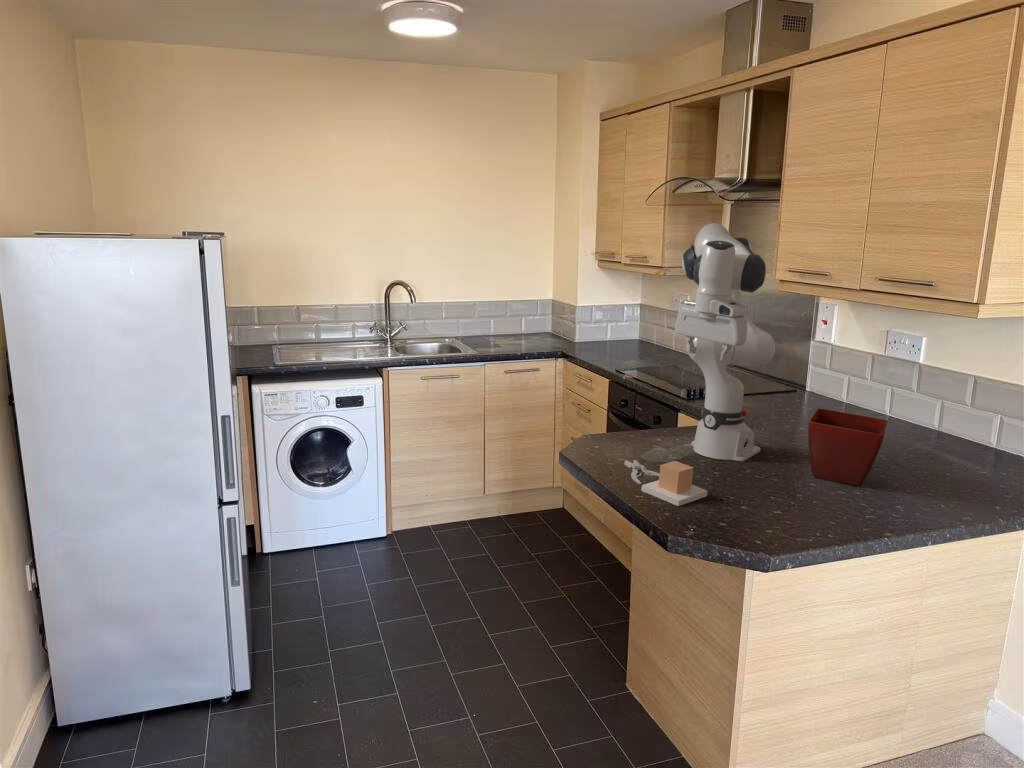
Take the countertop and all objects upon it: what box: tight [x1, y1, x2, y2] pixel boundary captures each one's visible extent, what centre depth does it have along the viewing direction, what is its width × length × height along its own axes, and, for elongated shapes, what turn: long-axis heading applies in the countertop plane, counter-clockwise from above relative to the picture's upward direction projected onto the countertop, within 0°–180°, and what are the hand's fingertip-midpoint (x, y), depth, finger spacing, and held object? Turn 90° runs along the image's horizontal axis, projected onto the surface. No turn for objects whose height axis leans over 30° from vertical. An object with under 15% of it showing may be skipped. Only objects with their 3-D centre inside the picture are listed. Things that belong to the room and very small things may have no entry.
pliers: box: [624, 459, 660, 485], centre depth 198 cm, size 10×2×15 cm
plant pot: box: [807, 408, 889, 487], centre depth 202 cm, size 19×19×17 cm
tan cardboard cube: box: [658, 460, 695, 494], centre depth 184 cm, size 6×6×6 cm
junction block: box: [640, 479, 708, 507], centre depth 184 cm, size 12×12×6 cm
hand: (706, 356), depth 188 cm, fingers open, 8 cm apart
